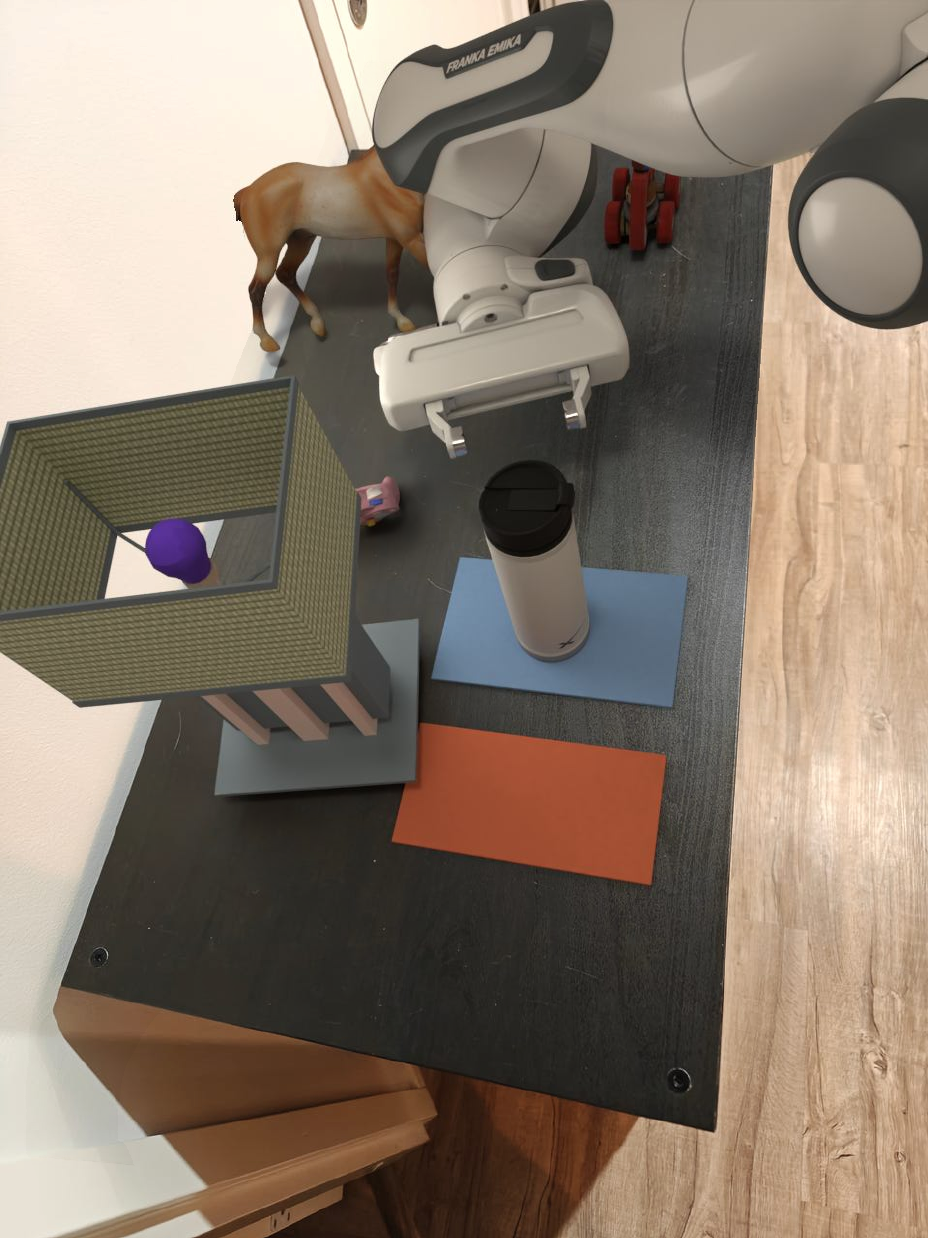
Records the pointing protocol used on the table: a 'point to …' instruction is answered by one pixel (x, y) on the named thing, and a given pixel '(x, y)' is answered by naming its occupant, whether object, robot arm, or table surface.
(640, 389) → the table surface
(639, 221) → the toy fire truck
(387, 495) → the pink toy
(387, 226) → the horse figurine
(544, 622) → the travel mug
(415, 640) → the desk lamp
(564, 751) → the terracotta mat
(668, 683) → the blue mat
